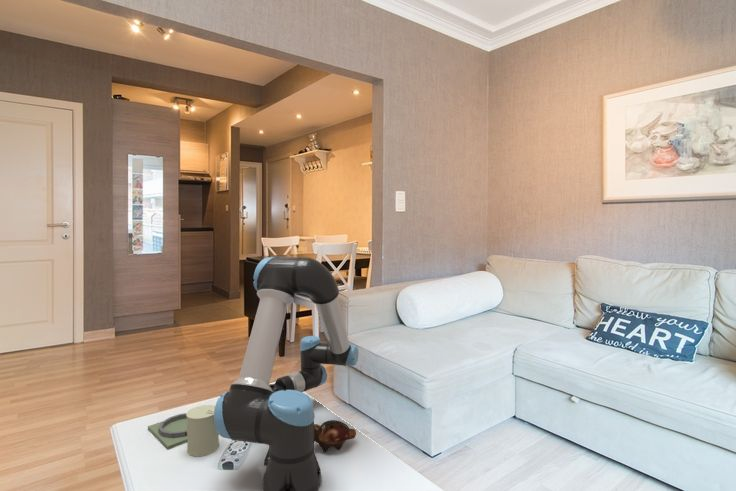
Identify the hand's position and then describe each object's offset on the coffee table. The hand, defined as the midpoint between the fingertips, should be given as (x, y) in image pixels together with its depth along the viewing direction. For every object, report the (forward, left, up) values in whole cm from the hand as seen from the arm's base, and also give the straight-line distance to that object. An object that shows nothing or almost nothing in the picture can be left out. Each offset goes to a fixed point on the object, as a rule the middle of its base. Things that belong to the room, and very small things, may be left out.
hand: (234, 405), depth 131 cm
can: (0, +11, -10) cm, 15 cm away
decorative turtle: (-28, -17, -10) cm, 35 cm away
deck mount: (+16, +11, -10) cm, 21 cm away
